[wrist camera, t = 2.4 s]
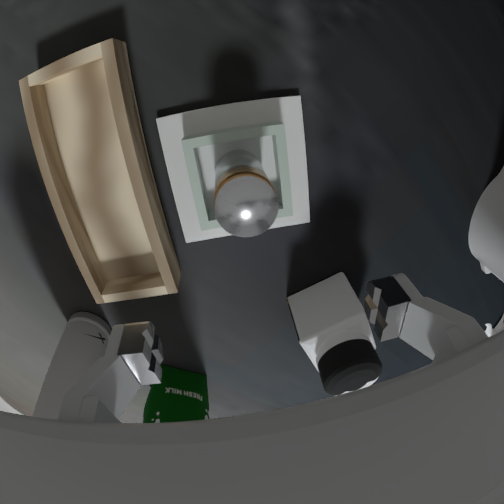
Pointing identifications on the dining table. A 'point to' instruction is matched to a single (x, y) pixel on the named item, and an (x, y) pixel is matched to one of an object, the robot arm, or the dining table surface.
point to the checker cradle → (228, 139)
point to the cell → (243, 195)
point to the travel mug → (72, 360)
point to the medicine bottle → (336, 335)
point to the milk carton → (177, 397)
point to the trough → (101, 172)
